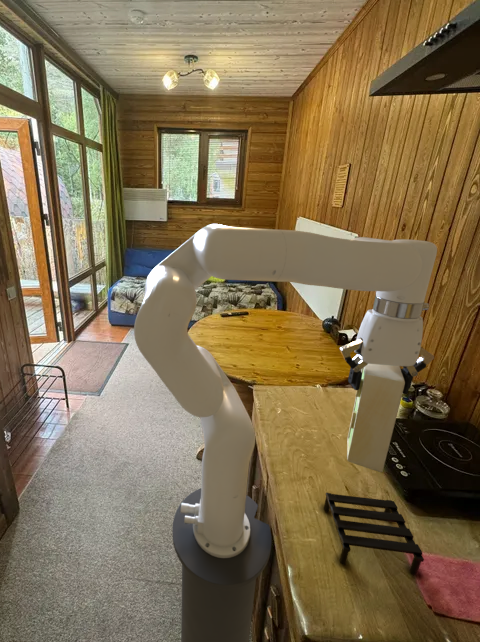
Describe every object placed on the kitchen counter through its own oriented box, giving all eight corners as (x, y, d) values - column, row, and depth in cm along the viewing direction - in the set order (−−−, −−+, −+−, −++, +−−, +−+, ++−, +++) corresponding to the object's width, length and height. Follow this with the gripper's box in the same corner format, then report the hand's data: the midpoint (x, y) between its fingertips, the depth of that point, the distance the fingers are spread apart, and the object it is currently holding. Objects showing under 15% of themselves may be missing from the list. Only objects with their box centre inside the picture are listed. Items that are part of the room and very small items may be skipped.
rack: (340, 564, 59) (344, 546, 58) (323, 507, 70) (326, 490, 69) (418, 575, 58) (425, 557, 56) (387, 515, 69) (392, 498, 67)
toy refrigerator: (343, 436, 72) (360, 356, 66) (379, 447, 69) (400, 364, 63) (342, 460, 65) (361, 373, 59) (382, 473, 62) (406, 383, 56)
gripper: (433, 304, 60) (411, 381, 65) (341, 299, 61) (327, 375, 67) (461, 317, 53) (434, 403, 58) (356, 311, 54) (339, 395, 60)
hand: (377, 388), depth 62 cm, fingers closed on toy refrigerator, 8 cm apart
